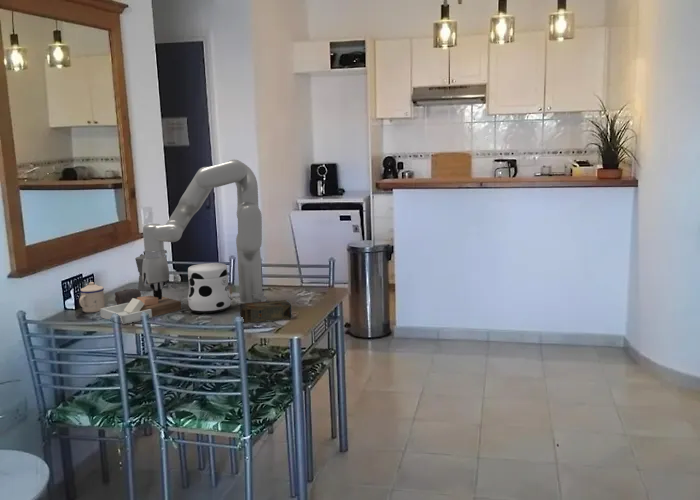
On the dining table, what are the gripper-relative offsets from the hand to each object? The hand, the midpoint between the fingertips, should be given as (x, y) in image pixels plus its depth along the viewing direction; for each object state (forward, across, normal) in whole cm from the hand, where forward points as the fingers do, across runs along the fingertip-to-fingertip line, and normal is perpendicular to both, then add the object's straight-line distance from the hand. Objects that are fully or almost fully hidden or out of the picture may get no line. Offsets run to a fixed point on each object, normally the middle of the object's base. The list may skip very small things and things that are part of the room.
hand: (158, 298), depth 267 cm
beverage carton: (+5, -19, +45) cm, 49 cm away
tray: (+5, +14, 0) cm, 15 cm away
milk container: (+5, -13, +17) cm, 22 cm away
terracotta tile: (+1, +5, 0) cm, 5 cm away
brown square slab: (+5, +1, 0) cm, 5 cm away
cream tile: (+2, +10, 0) cm, 10 cm away
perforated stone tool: (+5, +3, -19) cm, 20 cm away
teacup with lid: (+5, +18, -22) cm, 29 cm away
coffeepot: (+5, -18, -42) cm, 46 cm away
